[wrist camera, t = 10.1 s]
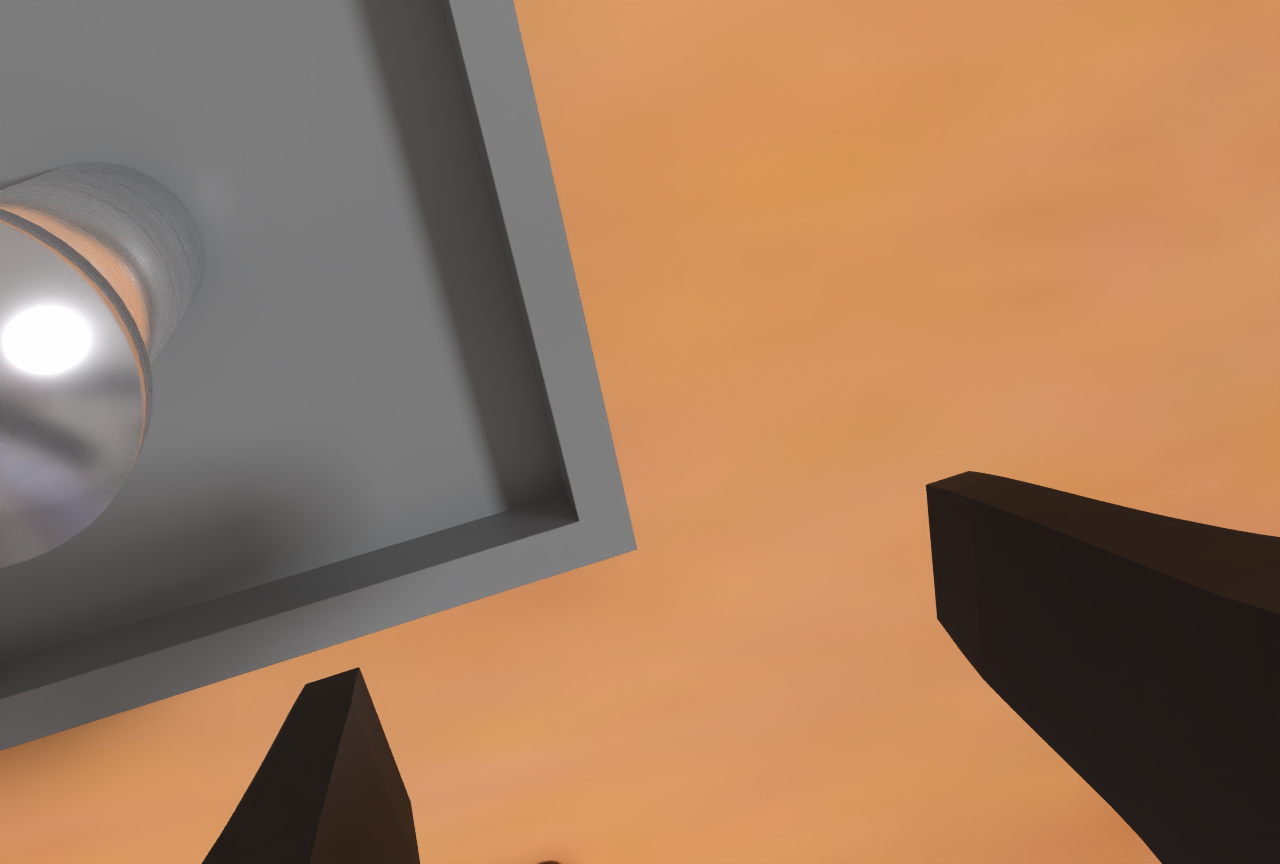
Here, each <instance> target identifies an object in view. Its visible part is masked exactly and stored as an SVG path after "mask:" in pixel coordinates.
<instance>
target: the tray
mask: <svg viewBox="0 0 1280 864" xmlns="http://www.w3.org/2000/svg"><path fill="white" fill-rule="evenodd" d="M83 162H106V163H113V164H119V165H122V166H126V167H130V168H132V169H135V170H137V171H140V172H142V173H144V174H146V175H148V176H150V177H152V178H154V179H155V180H157V181H158V182H160V183H161V184H163V185H164V186H166V187H167V188H168V189H169V190H170V191H171V192H172V193H174V194H175V195H176V196H177V198H178V199H179V200H180V201H181V202H182V203H183V204H184V205H185V207H186V208H187V210H188V211H189V212H190V214H191V215H192V217H193V219H194V221H195V223H196V225H197V227H198V230H199V232H200V235H201V238H202V242H203V247H204V256H205V266H204V274H203V279H202V283H201V286H200V288H199V291H198V293H197V295H196V297H195V299H194V300H193V302H192V304H191V305H190V307H189V308H188V310H187V311H186V313H185V314H184V316H183V317H182V319H181V320H180V322H179V323H178V325H177V327H176V328H175V330H174V331H173V333H172V334H171V336H170V337H169V339H168V340H167V342H166V343H165V345H164V346H163V348H162V349H161V351H160V353H159V354H158V356H157V357H156V359H155V360H154V362H153V363H152V365H151V366H150V367H151V375H152V383H153V403H152V413H151V419H150V424H149V429H148V433H147V435H146V438H145V441H144V444H143V447H142V449H141V452H140V453H139V455H138V457H137V459H136V461H135V463H134V465H133V466H132V468H131V470H130V472H129V474H128V476H127V478H126V479H125V481H124V483H123V485H122V487H121V489H120V491H119V492H118V493H117V495H116V496H115V497H114V499H113V500H112V501H111V503H110V504H109V505H108V507H107V508H106V509H105V510H104V511H103V512H102V513H101V514H100V515H99V516H98V517H97V518H96V519H95V520H94V521H93V522H92V523H91V524H90V525H89V526H87V527H86V528H85V529H83V530H82V531H81V532H79V533H78V534H77V535H75V536H74V537H73V538H71V539H70V540H68V541H66V542H65V543H63V544H61V545H59V546H58V547H56V548H54V549H52V550H50V551H48V552H46V553H44V554H41V555H39V556H37V557H34V558H32V559H29V560H27V561H24V562H20V563H17V564H13V565H10V566H7V567H3V568H0V751H1V750H4V749H7V748H10V747H13V746H17V745H20V744H23V743H26V742H29V741H32V740H36V739H39V738H42V737H45V736H48V735H51V734H54V733H58V732H61V731H64V730H67V729H70V728H73V727H77V726H80V725H83V724H86V723H89V722H92V721H96V720H99V719H102V718H105V717H108V716H111V715H115V714H118V713H121V712H124V711H127V710H130V709H134V708H137V707H140V706H143V705H146V704H149V703H152V702H156V701H159V700H162V699H165V698H168V697H171V696H175V695H178V694H181V693H184V692H187V691H190V690H194V689H197V688H200V687H203V686H206V685H209V684H213V683H216V682H219V681H222V680H225V679H228V678H232V677H235V676H238V675H241V674H244V673H247V672H251V671H254V670H257V669H260V668H263V667H266V666H269V665H273V664H276V663H279V662H282V661H285V660H288V659H292V658H295V657H298V656H301V655H304V654H307V653H311V652H314V651H317V650H320V649H323V648H326V647H330V646H333V645H336V644H339V643H342V642H345V641H349V640H352V639H355V638H358V637H361V636H364V635H368V634H371V633H374V632H377V631H380V630H383V629H386V628H390V627H393V626H396V625H399V624H402V623H405V622H409V621H412V620H415V619H418V618H421V617H424V616H428V615H431V614H434V613H437V612H440V611H443V610H447V609H450V608H453V607H456V606H459V605H462V604H466V603H469V602H472V601H475V600H478V599H481V598H485V597H488V596H491V595H494V594H497V593H500V592H503V591H507V590H510V589H513V588H516V587H519V586H522V585H526V584H529V583H532V582H535V581H538V580H541V579H545V578H548V577H551V576H554V575H557V574H560V573H564V572H567V571H570V570H573V569H576V568H579V567H583V566H586V565H589V564H592V563H595V562H598V561H602V560H605V559H608V558H611V557H614V556H617V555H620V554H624V553H627V552H630V551H633V550H636V549H637V546H636V542H635V537H634V533H633V529H632V524H631V520H630V515H629V511H628V506H627V502H626V498H625V493H624V489H623V484H622V480H621V475H620V471H619V467H618V462H617V458H616V453H615V449H614V445H613V440H612V436H611V431H610V427H609V422H608V418H607V414H606V409H605V405H604V400H603V396H602V391H601V387H600V383H599V378H598V374H597V369H596V365H595V361H594V356H593V352H592V347H591V343H590V338H589V334H588V330H587V325H586V321H585V316H584V312H583V307H582V303H581V299H580V294H579V290H578V285H577V281H576V276H575V272H574V268H573V263H572V259H571V254H570V250H569V246H568V241H567V237H566V232H565V228H564V223H563V219H562V215H561V210H560V206H559V201H558V197H557V192H556V188H555V184H554V179H553V175H552V170H551V166H550V161H549V157H548V153H547V148H546V144H545V139H544V135H543V131H542V126H541V122H540V117H539V113H538V108H537V104H536V100H535V95H534V91H533V86H532V82H531V77H530V73H529V69H528V64H527V60H526V55H525V51H524V46H523V42H522V38H521V33H520V29H519V24H518V20H517V16H516V11H515V7H514V2H513V0H0V190H2V189H4V188H7V187H10V186H13V185H15V184H18V183H21V182H23V181H26V180H29V179H31V178H34V177H37V176H39V175H42V174H45V173H47V172H50V171H53V170H55V169H58V168H61V167H64V166H67V165H71V164H76V163H83Z"/></svg>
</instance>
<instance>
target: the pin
mask: <svg viewBox="0 0 1280 864" xmlns="http://www.w3.org/2000/svg"><path fill="white" fill-rule="evenodd" d="M204 266H205V256H204V247H203V242H202V238H201V235H200V232H199V230H198V227H197V225H196V223H195V221H194V219H193V217H192V215H191V214H190V212H189V211H188V210H187V208H186V207H185V205H184V204H183V203H182V202H181V201H180V200H179V199H178V198H177V196H176V195H175V194H174V193H172V192H171V191H170V190H169V189H168V188H167V187H166V186H164V185H163V184H161V183H160V182H158V181H157V180H155V179H154V178H152V177H150V176H148V175H146V174H144V173H142V172H140V171H137V170H135V169H132V168H130V167H126V166H122V165H119V164H113V163H106V162H83V163H76V164H71V165H67V166H64V167H61V168H58V169H55V170H53V171H50V172H47V173H45V174H42V175H39V176H37V177H34V178H31V179H29V180H26V181H23V182H21V183H18V184H15V185H13V186H10V187H7V188H4V189H2V190H0V568H3V567H7V566H10V565H13V564H17V563H20V562H24V561H27V560H29V559H32V558H34V557H37V556H39V555H41V554H44V553H46V552H48V551H50V550H52V549H54V548H56V547H58V546H59V545H61V544H63V543H65V542H66V541H68V540H70V539H71V538H73V537H74V536H75V535H77V534H78V533H79V532H81V531H82V530H83V529H85V528H86V527H87V526H89V525H90V524H91V523H92V522H93V521H94V520H95V519H96V518H97V517H98V516H99V515H100V514H101V513H102V512H103V511H104V510H105V509H106V508H107V507H108V505H109V504H110V503H111V501H112V500H113V499H114V497H115V496H116V495H117V493H118V492H119V491H120V489H121V487H122V485H123V483H124V481H125V479H126V478H127V476H128V474H129V472H130V470H131V468H132V466H133V465H134V463H135V461H136V459H137V457H138V455H139V453H140V452H141V449H142V447H143V444H144V441H145V438H146V435H147V433H148V429H149V424H150V419H151V413H152V403H153V383H152V375H151V367H150V366H151V365H152V363H153V362H154V360H155V359H156V357H157V356H158V354H159V353H160V351H161V349H162V348H163V346H164V345H165V343H166V342H167V340H168V339H169V337H170V336H171V334H172V333H173V331H174V330H175V328H176V327H177V325H178V323H179V322H180V320H181V319H182V317H183V316H184V314H185V313H186V311H187V310H188V308H189V307H190V305H191V304H192V302H193V300H194V299H195V297H196V295H197V293H198V291H199V288H200V286H201V283H202V279H203V274H204Z"/></svg>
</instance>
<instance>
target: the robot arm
mask: <svg viewBox="0 0 1280 864" xmlns="http://www.w3.org/2000/svg"><path fill="white" fill-rule="evenodd" d="M926 491H927V503H928V515H929V527H930V538H931V550H932V562H933V574H934V586H935V597H936V609H937V619H938V620H939V622H940V623H941V624H942V626H943V627H944V628H945V630H946V631H947V632H948V634H949V635H950V637H951V638H952V639H953V641H954V642H955V643H956V645H957V646H958V648H959V649H960V650H961V652H962V653H963V654H964V655H965V657H966V658H967V659H968V661H969V662H970V663H971V664H972V666H973V667H974V668H975V669H976V671H977V672H978V673H979V674H980V676H981V677H982V678H983V679H984V680H985V681H986V682H987V684H988V685H989V686H990V687H991V688H992V689H993V690H994V691H995V692H996V693H997V694H998V695H999V696H1000V697H1001V698H1002V699H1003V700H1004V701H1005V702H1006V703H1007V704H1008V705H1009V706H1010V707H1011V708H1012V709H1013V710H1014V711H1015V712H1016V713H1017V714H1018V715H1019V716H1020V717H1021V718H1022V719H1023V720H1024V721H1025V722H1026V723H1027V724H1028V725H1029V726H1030V727H1031V728H1032V729H1033V730H1034V731H1035V732H1036V733H1037V734H1038V735H1039V736H1040V737H1041V738H1042V739H1043V740H1044V741H1045V742H1046V743H1047V744H1048V745H1049V746H1050V747H1051V748H1052V749H1053V750H1054V751H1055V752H1056V753H1058V754H1059V755H1060V756H1061V757H1062V758H1063V759H1064V760H1065V761H1066V762H1067V763H1068V764H1069V765H1070V766H1071V767H1072V768H1073V769H1074V770H1075V771H1076V772H1077V773H1078V774H1079V775H1080V776H1081V777H1082V778H1083V779H1084V780H1085V781H1086V782H1087V783H1088V784H1089V785H1090V786H1091V787H1092V788H1093V789H1094V790H1095V791H1096V792H1097V793H1098V794H1099V795H1100V796H1101V797H1102V798H1103V799H1104V800H1105V801H1106V802H1107V803H1108V804H1109V805H1110V806H1111V807H1112V808H1113V809H1114V810H1115V811H1116V812H1117V813H1118V814H1119V815H1120V816H1121V817H1122V818H1123V820H1124V821H1125V822H1126V823H1127V824H1128V825H1129V826H1130V827H1131V828H1132V829H1133V830H1134V831H1135V832H1136V833H1137V834H1138V836H1139V837H1140V838H1141V839H1142V840H1143V841H1144V843H1145V844H1146V845H1147V846H1148V847H1149V849H1150V850H1151V851H1152V852H1153V853H1154V855H1155V856H1156V857H1157V858H1158V859H1159V861H1160V862H1161V863H1162V864H1280V537H1275V536H1267V535H1261V534H1255V533H1249V532H1243V531H1237V530H1232V529H1226V528H1221V527H1216V526H1211V525H1206V524H1201V523H1196V522H1191V521H1186V520H1181V519H1176V518H1172V517H1167V516H1163V515H1158V514H1154V513H1149V512H1145V511H1140V510H1136V509H1132V508H1128V507H1123V506H1119V505H1115V504H1111V503H1107V502H1103V501H1099V500H1095V499H1091V498H1087V497H1083V496H1079V495H1075V494H1071V493H1067V492H1063V491H1059V490H1055V489H1051V488H1047V487H1043V486H1039V485H1035V484H1031V483H1027V482H1023V481H1018V480H1014V479H1010V478H1005V477H1001V476H996V475H991V474H985V473H979V472H972V471H968V472H965V473H961V474H958V475H955V476H952V477H949V478H946V479H943V480H940V481H937V482H933V483H930V484H927V485H926ZM202 864H420V860H419V853H418V846H417V840H416V833H415V827H414V820H413V814H412V808H411V802H410V799H409V797H408V794H407V791H406V789H405V786H404V783H403V781H402V778H401V776H400V773H399V770H398V768H397V765H396V762H395V760H394V757H393V755H392V752H391V749H390V747H389V744H388V741H387V739H386V736H385V734H384V731H383V728H382V726H381V723H380V720H379V718H378V715H377V713H376V710H375V707H374V705H373V702H372V699H371V697H370V694H369V692H368V689H367V686H366V684H365V681H364V678H363V676H362V673H361V671H360V668H359V667H358V668H355V669H352V670H349V671H346V672H343V673H339V674H336V675H333V676H330V677H327V678H324V679H321V680H318V681H315V682H311V683H308V684H306V685H305V686H304V688H303V690H302V691H301V693H300V695H299V696H298V698H297V700H296V702H295V703H294V705H293V707H292V709H291V711H290V712H289V714H288V716H287V718H286V720H285V722H284V724H283V725H282V727H281V729H280V731H279V733H278V735H277V737H276V739H275V740H274V742H273V744H272V746H271V748H270V750H269V751H268V753H267V755H266V757H265V759H264V761H263V762H262V764H261V766H260V768H259V770H258V771H257V773H256V775H255V777H254V778H253V780H252V782H251V784H250V785H249V787H248V789H247V791H246V792H245V794H244V796H243V797H242V799H241V801H240V803H239V804H238V806H237V808H236V809H235V811H234V813H233V815H232V816H231V818H230V820H229V822H228V823H227V825H226V826H225V828H224V830H223V831H222V833H221V835H220V836H219V838H218V839H217V841H216V842H215V844H214V845H213V847H212V848H211V850H210V852H209V853H208V855H207V856H206V858H205V859H204V861H203V862H202Z"/></svg>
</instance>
